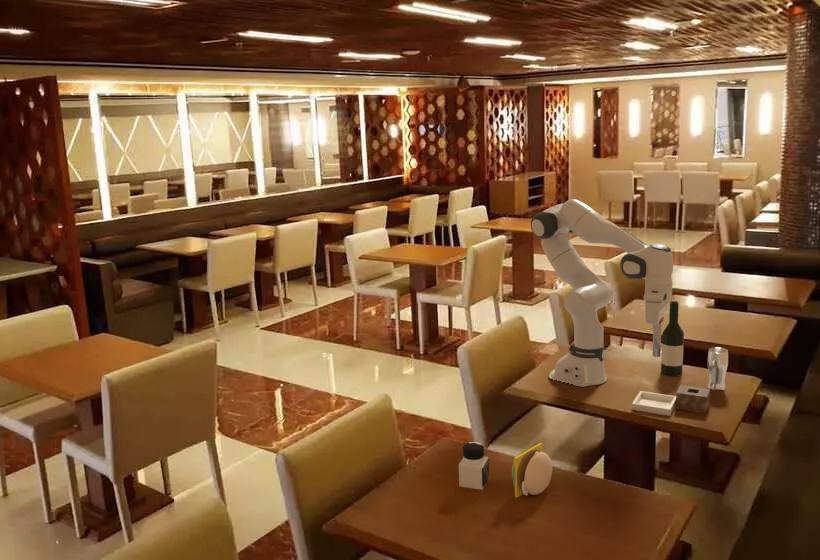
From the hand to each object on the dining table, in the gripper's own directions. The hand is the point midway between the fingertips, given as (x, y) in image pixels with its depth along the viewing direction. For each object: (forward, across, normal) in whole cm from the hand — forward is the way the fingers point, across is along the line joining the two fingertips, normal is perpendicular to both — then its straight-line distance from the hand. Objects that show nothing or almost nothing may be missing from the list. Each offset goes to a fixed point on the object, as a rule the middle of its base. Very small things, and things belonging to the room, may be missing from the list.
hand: (657, 329), depth 248 cm
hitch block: (+29, -5, +12) cm, 32 cm away
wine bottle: (+29, -37, -1) cm, 47 cm away
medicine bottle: (+29, +77, -35) cm, 89 cm away
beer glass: (+29, -27, +17) cm, 43 cm away
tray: (+29, 0, 0) cm, 29 cm away
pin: (+10, 0, 0) cm, 10 cm away
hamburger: (+29, +74, -18) cm, 82 cm away
